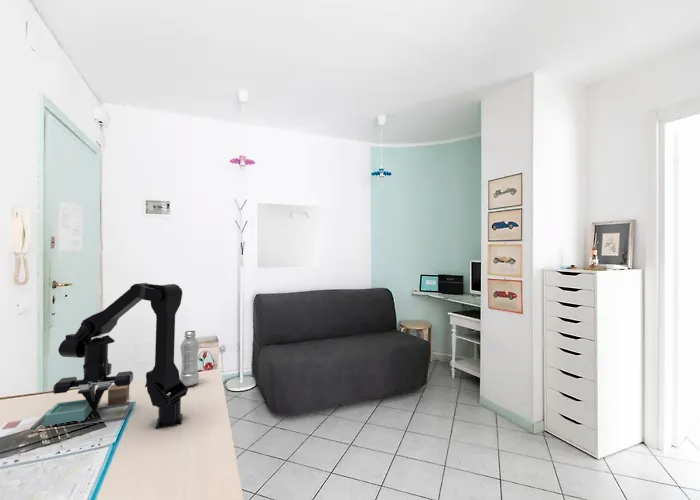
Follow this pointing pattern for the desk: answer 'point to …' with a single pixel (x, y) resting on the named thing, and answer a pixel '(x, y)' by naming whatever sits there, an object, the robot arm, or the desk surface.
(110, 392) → the walnut block
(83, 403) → the teal square tray
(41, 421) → the gray metal rectangular frame
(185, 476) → the desk surface
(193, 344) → the plastic bottle
